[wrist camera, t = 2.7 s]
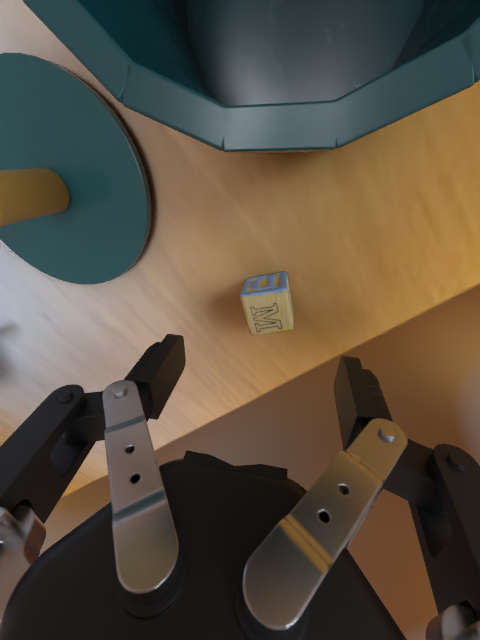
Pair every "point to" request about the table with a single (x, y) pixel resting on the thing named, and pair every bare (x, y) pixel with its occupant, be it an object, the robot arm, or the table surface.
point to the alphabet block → (267, 303)
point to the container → (273, 63)
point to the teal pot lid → (67, 175)
